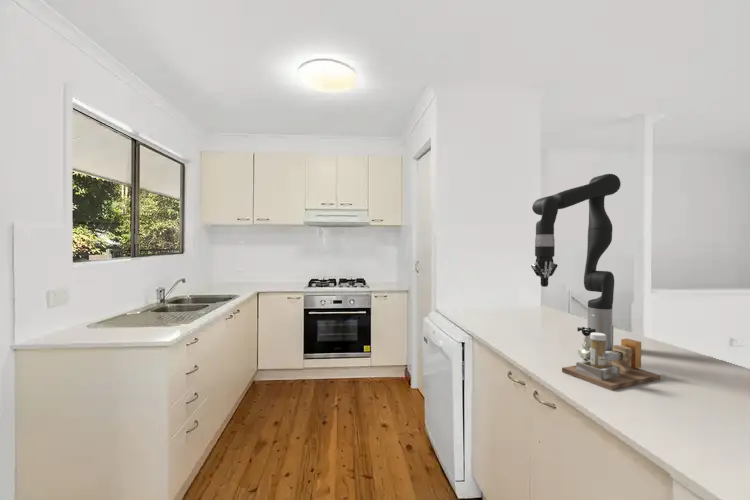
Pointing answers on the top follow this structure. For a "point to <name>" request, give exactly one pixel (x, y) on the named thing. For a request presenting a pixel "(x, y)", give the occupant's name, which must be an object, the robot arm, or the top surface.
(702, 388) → the top surface
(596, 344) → the spice jar
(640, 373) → the socket base
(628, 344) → the bar
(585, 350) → the valve
